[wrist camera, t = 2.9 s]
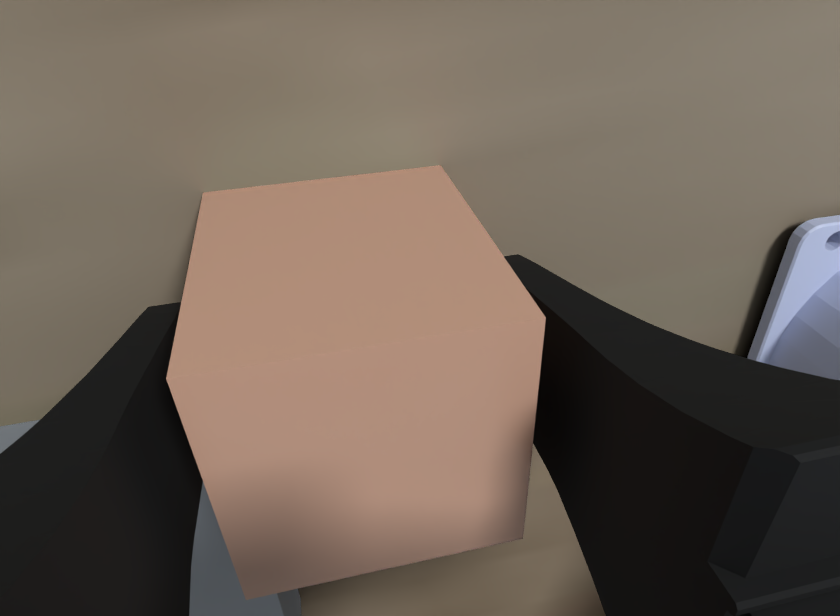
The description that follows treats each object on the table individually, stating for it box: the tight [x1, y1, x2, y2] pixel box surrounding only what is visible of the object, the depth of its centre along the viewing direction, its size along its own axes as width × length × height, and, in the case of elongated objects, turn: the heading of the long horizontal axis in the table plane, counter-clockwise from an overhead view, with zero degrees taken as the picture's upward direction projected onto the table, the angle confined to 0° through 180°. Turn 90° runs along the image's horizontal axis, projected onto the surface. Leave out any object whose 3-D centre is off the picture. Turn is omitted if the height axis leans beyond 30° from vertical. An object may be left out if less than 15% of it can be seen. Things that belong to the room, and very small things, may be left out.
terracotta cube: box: [166, 165, 546, 600], centre depth 11 cm, size 5×5×6 cm
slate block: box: [0, 420, 301, 616], centre depth 15 cm, size 9×9×3 cm
